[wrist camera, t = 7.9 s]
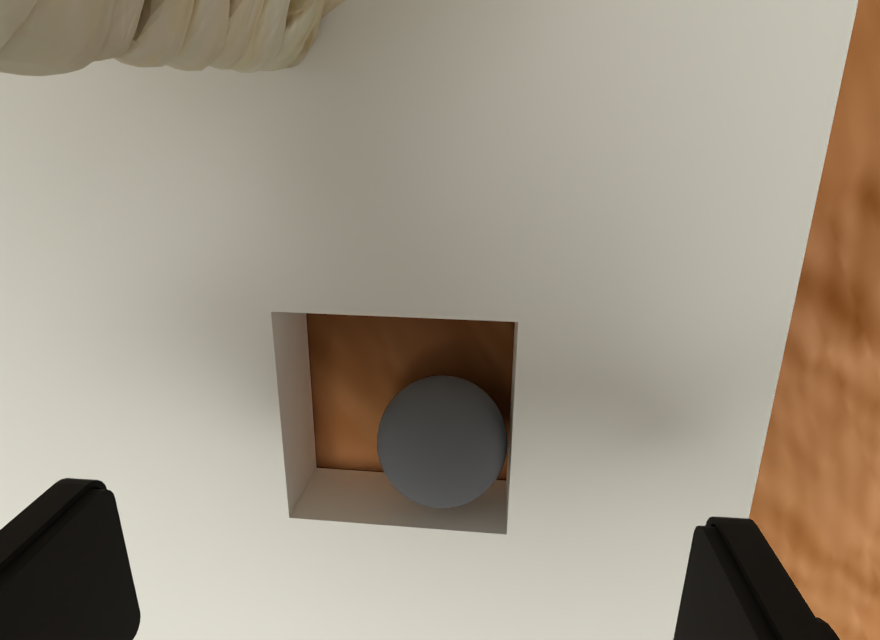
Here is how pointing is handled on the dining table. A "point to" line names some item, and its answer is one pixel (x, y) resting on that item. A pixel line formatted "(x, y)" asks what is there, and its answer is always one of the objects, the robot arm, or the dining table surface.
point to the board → (417, 302)
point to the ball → (442, 441)
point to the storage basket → (157, 34)
